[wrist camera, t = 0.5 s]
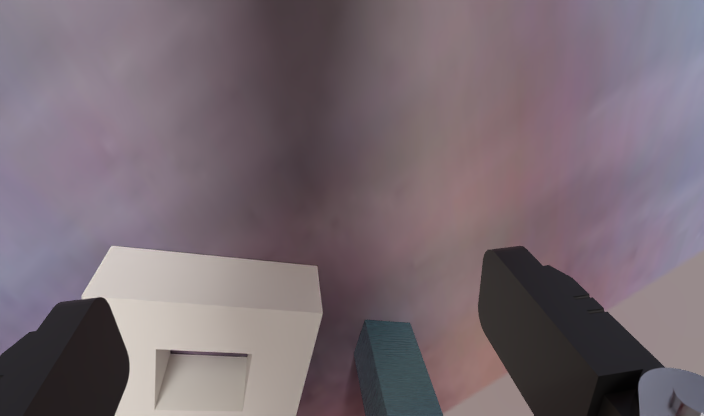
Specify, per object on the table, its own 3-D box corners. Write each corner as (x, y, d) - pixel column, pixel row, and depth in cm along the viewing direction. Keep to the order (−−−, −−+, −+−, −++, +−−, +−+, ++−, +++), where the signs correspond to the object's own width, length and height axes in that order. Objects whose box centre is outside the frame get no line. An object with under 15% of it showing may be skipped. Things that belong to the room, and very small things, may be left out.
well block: (111, 245, 28) (81, 295, 24) (317, 266, 32) (322, 313, 28) (116, 385, 35) (94, 444, 31) (287, 390, 38) (288, 444, 34)
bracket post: (365, 319, 35) (399, 466, 25) (409, 323, 36) (461, 466, 26) (353, 353, 37) (382, 503, 27) (397, 355, 38) (440, 501, 28)
